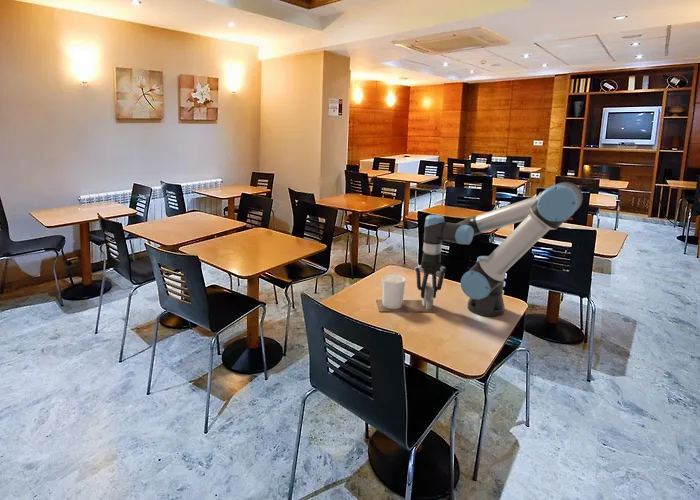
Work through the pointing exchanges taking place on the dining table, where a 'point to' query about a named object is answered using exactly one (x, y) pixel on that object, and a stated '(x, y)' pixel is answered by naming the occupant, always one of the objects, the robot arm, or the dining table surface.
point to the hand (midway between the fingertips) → (427, 304)
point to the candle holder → (392, 291)
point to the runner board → (413, 303)
